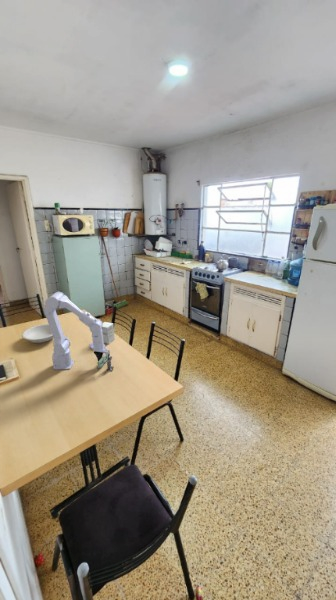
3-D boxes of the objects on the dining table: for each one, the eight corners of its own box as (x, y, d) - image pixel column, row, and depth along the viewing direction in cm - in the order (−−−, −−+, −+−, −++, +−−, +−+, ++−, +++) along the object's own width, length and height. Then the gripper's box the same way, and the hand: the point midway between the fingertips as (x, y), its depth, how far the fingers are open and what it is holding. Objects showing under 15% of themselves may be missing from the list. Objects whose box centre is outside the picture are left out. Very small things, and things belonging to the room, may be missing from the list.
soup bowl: (68, 336, 180) (67, 328, 177) (36, 352, 161) (34, 343, 158) (48, 328, 192) (46, 320, 189) (16, 342, 173) (14, 333, 170)
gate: (106, 358, 151) (105, 353, 150) (108, 359, 151) (107, 353, 150) (98, 368, 142) (97, 362, 141) (99, 368, 142) (99, 362, 141)
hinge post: (105, 360, 151) (104, 352, 149) (106, 357, 154) (105, 349, 153) (111, 360, 151) (110, 352, 149) (112, 357, 155) (111, 349, 153)
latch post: (106, 371, 141) (105, 362, 139) (108, 367, 145) (107, 359, 143) (112, 370, 141) (111, 362, 139) (113, 367, 145) (112, 358, 143)
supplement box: (99, 342, 171) (98, 325, 167) (106, 337, 178) (104, 321, 174) (109, 344, 169) (107, 327, 164) (115, 339, 175) (113, 323, 171)
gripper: (112, 341, 141) (114, 362, 145) (95, 334, 148) (97, 354, 153) (102, 346, 135) (104, 368, 140) (85, 339, 143) (87, 359, 148)
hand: (100, 361), depth 146 cm, fingers closed, pressing on gate
